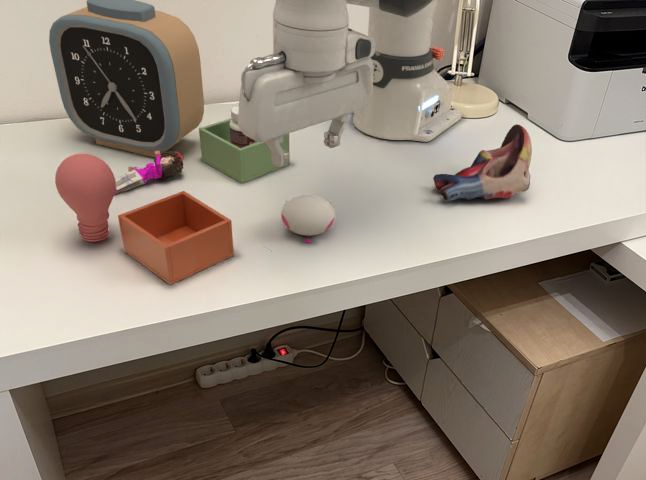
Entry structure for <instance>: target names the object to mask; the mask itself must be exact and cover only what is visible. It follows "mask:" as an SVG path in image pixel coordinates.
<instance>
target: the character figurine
mask: <svg viewBox="0 0 646 480" xmlns="http://www.w3.org/2000/svg"><path fill="white" fill-rule="evenodd" d="M154 152H155V155H156V158H153V162H148V163H147V164H145V166H144V167H142V168H138V166H134V167H133V166H128V168H127V172H126V173H124V175H121V176H120V177H118V178H116V179H115V183H116V187H115V192H114V196H115V195H118V194H120V193H122V192H126V191H128V190H130V189H133V188H135V187H138V186H140V185H141V186H142V185H145V184H147V181H148V180H149V179H153V180H156V179H158V178H161V180H163V181H168V180H170V179H173V178H175V176H176V177H177V175H179V174H181V173H183V169H184V165H185V164H184V161H183V160H184V157H183V156H182V154H181V153H180V151H178V150H175V151H173V150H171V151H170V150H168V151H166V152H163V154H161V155H160V151H159V150H158V151H154Z"/></svg>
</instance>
